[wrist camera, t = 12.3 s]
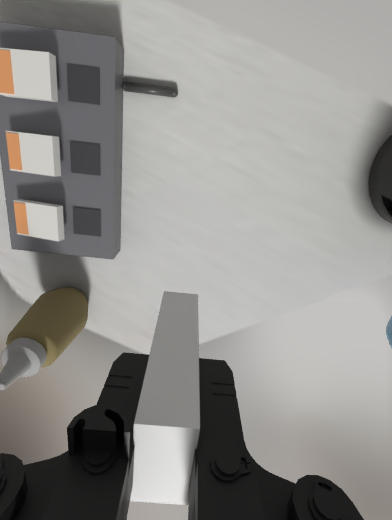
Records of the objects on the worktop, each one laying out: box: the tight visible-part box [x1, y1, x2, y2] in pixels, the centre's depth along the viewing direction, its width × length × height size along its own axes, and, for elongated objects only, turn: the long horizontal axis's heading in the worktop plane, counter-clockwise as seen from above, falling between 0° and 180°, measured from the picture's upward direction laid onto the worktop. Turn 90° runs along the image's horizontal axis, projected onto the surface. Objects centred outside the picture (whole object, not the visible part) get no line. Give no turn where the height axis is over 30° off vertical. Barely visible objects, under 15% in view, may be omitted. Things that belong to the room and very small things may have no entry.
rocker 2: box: [13, 199, 65, 241], centre depth 36 cm, size 6×4×1 cm
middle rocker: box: [6, 131, 61, 177], centre depth 34 cm, size 6×4×1 cm
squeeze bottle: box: [0, 287, 88, 390], centre depth 38 cm, size 8×8×18 cm
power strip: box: [0, 22, 178, 259], centre depth 37 cm, size 21×26×5 cm
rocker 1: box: [0, 48, 58, 102], centre depth 31 cm, size 6×4×1 cm
